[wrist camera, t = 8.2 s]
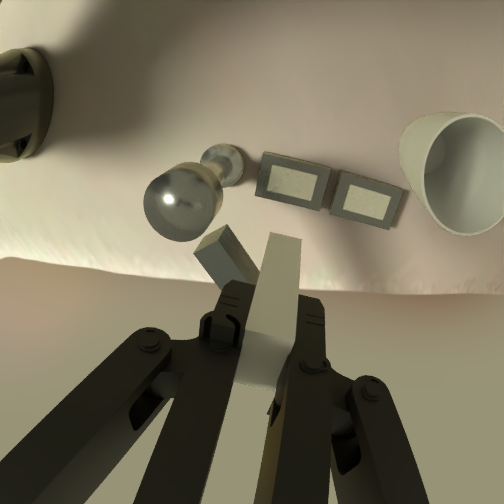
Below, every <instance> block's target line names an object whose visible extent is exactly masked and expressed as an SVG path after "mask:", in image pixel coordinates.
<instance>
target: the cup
mask: <svg viewBox="0 0 504 504" xmlns="http://www.w3.org/2000/svg"><path fill="white" fill-rule="evenodd" d="M399 160H400V164H401V167H402V170H403V172H404V174H405V176H406V178H407V180H408V182H409V184H410V186H411V188H412V190H413V191H414V193H415V194H416V196H417V197H418V198H419V200H420V201H421V202H422V204H423V205H424V206H425V208H426V209H427V210H428V212H429V213H430V215H431V216H432V217H433V219H434V220H435V221H436V222H437V223H438V224H439V225H440V226H441V227H442V228H444V229H445V230H447V231H448V232H451V233H453V234H456V235H461V236H473V235H478V234H481V233H483V232H486V231H488V230H489V229H491V228H492V227H494V226H495V225H496V224H497V223H498V222H499V221H500V220H501V219H502V218H503V217H504V129H503V128H502V127H501V126H500V125H499V124H498V123H496V122H495V121H493V120H492V119H490V118H488V117H486V116H483V115H479V114H470V113H455V112H441V113H436V114H432V115H428V116H423V117H420V118H418V119H416V120H414V121H413V122H412V123H411V124H410V125H409V126H408V127H407V128H406V129H405V130H404V131H403V133H402V135H401V137H400V140H399Z"/></svg>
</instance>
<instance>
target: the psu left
mask: <svg viewBox="0 0 504 504" xmlns="http://www.w3.org/2000/svg"><path fill="white" fill-rule="evenodd" d="M330 171H331V169H330V167H327V166H323V165H320V164H316V163H312V162H308V161H304V160H300V159H295V158H291V157H287V156H282V155H278V154H273V153H269V152H264V153H263V155H262V160H261V165H260V171H259V176H258V181H257V186H256V191H255V196H257V197H262V198H266V199H271V200H275V201H279V202H283V203H288V204H292V205H296V206H300V207H304V208H308V209H312V210H316V211H320V207H321V204H322V200H323V196H324V193H325V189H326V186H327V182H328V178H329V175H330Z"/></svg>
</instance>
